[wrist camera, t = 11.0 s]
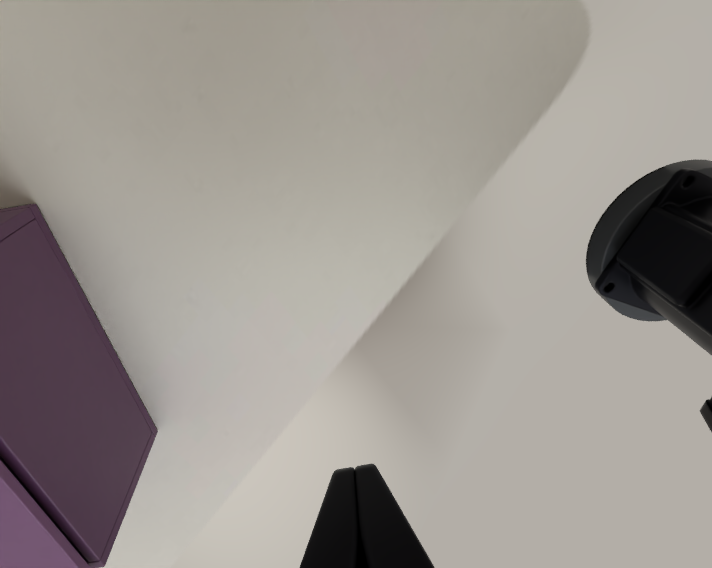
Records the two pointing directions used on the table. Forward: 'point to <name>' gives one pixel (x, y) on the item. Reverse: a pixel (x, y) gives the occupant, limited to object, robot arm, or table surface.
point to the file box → (64, 393)
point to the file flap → (30, 531)
